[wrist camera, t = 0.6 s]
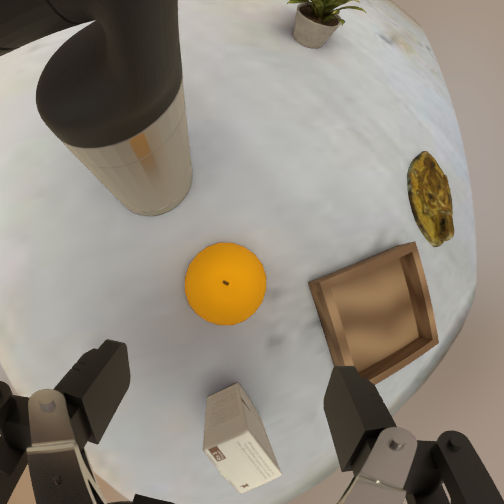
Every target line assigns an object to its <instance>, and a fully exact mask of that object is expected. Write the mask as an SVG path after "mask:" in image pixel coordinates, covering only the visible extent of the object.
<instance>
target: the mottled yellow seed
mask: <svg viewBox="0 0 504 504" xmlns="http://www.w3.org/2000/svg"><path fill="white" fill-rule="evenodd" d="M407 183H408V195H409V200H410V204H411V208H412V212H413V215H414V218H415V221H416V223H417V225H418V227H419V229H420V231H421V232H422V234H423V235H424V237H425V238H426V239H427V240H428V242H429V243H430V244H431V245H432V246H434V247H438V246H440V245H442V244H443V242H444V241H447V240H450V239H451V238H452V237H453V236H454V226H453V218H452V198H451V193H450V188H449V185H448V180H447V176H446V175H444V173H443V171H442V170H441V168H440V167H439V165H438V163H437V162H436V160H435V159H434V158H433V157H432V155H431V154H429V153H428V152H427V151H423V152H422V153H421V154H420V155H418V156H417V157H416V158H415V159H413V161H412V162H411V164H410V167H409V170H408V174H407Z"/></svg>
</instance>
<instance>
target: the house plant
mask: <svg viewBox="0 0 504 504" xmlns="http://www.w3.org/2000/svg"><path fill="white" fill-rule="evenodd" d="M310 1H312V2H309V0H290V1H289V2H288V3H300V4H299V5H298V7H297V12H296V19H295V26H294V33H293V36H294V38H295V40H296V41H297V42H298V43H300V44H301V45H303V46H306V47H309V48H319V47H321V46H322V45H323V44H324V43H325V42H326V40H327V39H328V38H329V37H330V36H331V35H332V34H333V32H334V31H335V30H336V29H337V28H338V27H339V26H340V24H341V23H342V25H343V24H344V23H345V21H344V20H343V19H341V18H340V16H339V15H338V14H339V12H340V11H339V10H341V9H346V8H351V9H358V10H362V11H364V10H363V9H362V8H359V7H355V6H346V7H342V8H339V9H336V10H333V9H334V8H336V7H338V6H340V5H342V4H345V3H347V2H349V1H352V0H310ZM355 1H357V2H359V1H358V0H355ZM288 3H287V4H288ZM359 3H360V2H359ZM364 12H365V11H364ZM365 13H366V12H365Z"/></svg>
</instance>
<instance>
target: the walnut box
mask: <svg viewBox="0 0 504 504" xmlns="http://www.w3.org/2000/svg"><path fill="white" fill-rule="evenodd" d="M308 284H309V287H310V290H311V293H312V296H313V299H314V302H315V306H316V309H317V312H318V315H319V318H320V321H321V324H322V327H323V331H324V334H325V337H326V340H327V344H328V347H329V350H330V354H331V357H332V360H333V364H334V367H335V366H355V368H356V369H357V371H358V373H359V375H360V377H361V378H367V379H368V380H369V381H370V382H371V383H373V384H374V385H375V384H377V383H379V382H380V381H382V380H384V379H386V378H387V377H389V376H390V375H392V374H394V373H395V372H397V371H399V370H400V369H402V368H403V367H405V366H406V365H408V364H409V363H411V362H412V361H414V360H415V359H417V358H418V357H420V356H421V355H423V354H424V353H426V352H427V351H428V350H430V349H431V348H433V347H434V346H435V345H437V344H438V343H439V341H438V335H437V329H436V324H435V318H434V313H433V308H432V304H431V299H430V295H429V291H428V286H427V282H426V278H425V274H424V271H423V267H422V263H421V260H420V256H419V253H418V249H417V246H416V243H415V242H411V243H406V244H402V245H398V246H396V247H393V248H391V249H389V250H386V251H384V252H382V253H379V254H377V255H375V256H372V257H370V258H368V259H365V260H363V261H360V262H358V263H356V264H353V265H351V266H348V267H346V268H343V269H341V270H338V271H336V272H334V273H331V274H329V275H326V276H323V277H321V278H318V279H316V280H313V281H311V282H308Z"/></svg>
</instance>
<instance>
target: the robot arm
mask: <svg viewBox="0 0 504 504" xmlns="http://www.w3.org/2000/svg"><path fill="white" fill-rule="evenodd" d="M94 20H96V21H94ZM90 21H94V22H93V23H91V24H90V25H88V26H86V27H85V28H83V29H82V30H80V31H79V32H77V33H76V34H75V35H73V36H72V37H71V38H70V39H68V40H67V41H66V42H65V43H64V44H63V45H62V46H61V47H60V48H59V49H58V50H57V51H56V52H55V53H54V55H53V56H52V57H51V58H50V60H49V61H48V63H47V64H46V66H45V68H44V70H43V72H42V74H41V76H40V78H39V82H38V85H37V90H36V104H37V108H38V112H39V114H40V116H41V118H42V119H43V121H44V122H45V124H46V125H47V126H48V127H49V128H50V130H51V131H52V132H53V133H54V134H55V135H56V136H57V137H58V138H59V139H60V140H61V141H62V142H63V143H64V144H65V145H66V146H67V147H68V149H69V150H70V151H71V152H72V153H73V154H74V155H75V156H76V157H77V158H78V159H79V160H80V161H81V162H82V163H83V164H84V165H85V166H86V167H87V168H88V169H89V170H90V171H91V172H92V173H93V175H94V176H95V177H96V178H97V179H98V180H99V181H100V182H101V183H102V184H103V185H104V186H105V187H106V188H107V189H108V190H109V191H110V192H111V193H112V194H113V195H114V196H115V197H116V198H117V199H118V200H119V201H120V202H121V203H122V204H123V205H124V206H125V207H127V208H128V209H129V210H130V211H132V212H134V213H137V214H140V215H145V216H155V215H160V214H163V213H166V212H168V211H170V210H172V209H173V208H174V207H176V206H177V205H178V204H179V203H180V202H181V201H182V200H183V199H184V198H185V196H186V194H187V193H188V191H189V188H190V186H191V182H192V166H191V156H190V147H189V138H188V129H187V119H186V108H185V99H184V88H183V76H182V63H181V53H180V43H179V29H178V0H0V56H2V55H4V54H6V53H9V52H11V51H13V50H15V49H17V48H20V47H21V46H24V45H26V44H28V43H30V42H33V41H35V40H37V39H40V38H42V37H45V36H47V35H50V34H53V33H56V32H58V31H61V30H64V29H67V28H70V27H73V26H76V25H80V24H83V23H86V22H90ZM129 384H130V368H129V361H128V353H127V346H126V344H125V343H122V342H118V341H113V340H109V339H107V340H105V342H104V343H103V344H102V345H101V346H100V347H99V349H92V350H90V351H88V352H86V353H85V354H83V355H82V357H81V358H80V359H79V360H78V361H77V363H75V365H74V366H73V367H72V369H70V370H69V372H68V373H67V374H66V375H65V376H64V377H63V379H62V380H61V381H60V382H59V383H58V384H57V386H56V387H55V388H54V389H53V390H52V389H43V390H39V391H37V392H35V393H34V394H33V395H32V396H31V397H30V398H28V397H22V396H15V395H13V394H12V391H11V389H10V387H9V385H7V384H6V383H5V382H2V381H0V435H1V436H0V504H7V502H8V500H9V498H10V496H11V494H12V492H13V490H14V488H15V486H16V484H17V483H18V481H19V479H20V477H21V475H22V473H23V471H24V470H25V468H26V466H27V464H28V465H29V471H30V477H31V482H32V487H33V491H34V496H35V500H36V503H37V504H174V503H172V502H167V501H163V500H158V499H154V498H150V497H146V496H142V495H138V494H135V496H134V499H133V502H132V501H120V502H112V503H107V502H106V500H105V498H104V496H103V494H102V492H101V490H100V488H99V486H98V483H97V481H96V478H95V475H94V473H93V470H92V467H91V464H90V462H89V459H88V456H87V453H86V450H85V448H84V447H85V445H86V443H87V441H89V442H92V443H95V444H99V442H100V440H101V438H102V436H103V434H104V432H105V430H106V428H107V427H108V425H109V423H110V421H111V419H112V417H113V415H114V413H115V412H116V410H117V408H118V406H119V404H120V402H121V400H122V399H123V397H124V395H125V393H126V391H127V390H128V387H129ZM324 411H325V414H326V418H327V421H328V425H329V428H330V432H331V435H332V439H333V442H334V446H335V449H336V453H337V456H338V460H339V464H340V467H341V471H342V472H346V471H353V473H354V477H353V478H352V480H351V482H350V483H349V485H348V486H347V488H346V490H345V491H344V493H343V494H342V496H341V497H340V499H339V501H338V502H337V504H403V501H404V499H405V497H406V500H407V503H408V504H450V503H449V500H448V498H447V496H446V493H445V491H444V489H443V486H442V484H443V483H444V484H445V486H446V488H447V490H448V493H449V495H450V498H451V504H504V501H503V499H502V497H501V495H500V493H499V491H498V489H497V488H496V486H495V484H494V482H493V480H492V478H491V477H490V475H489V473H488V471H487V470H486V468H485V466H484V464H483V463H482V461H481V459H480V458H479V456H478V454H477V453H476V451H475V449H474V448H473V446H472V444H471V443H470V441H469V440H468V438H467V437H466V436H465V435H464V434H462V433H460V432H457V431H446V432H444V433H442V434H441V435H440V436H439V438H438V439H437V441H419V440H416V438H415V436H414V435H413V434H412V433H411V432H410V431H408V430H406V429H404V428H400V427H397V426H396V424H395V422H394V420H393V418H392V416H391V415H390V413H389V411H388V409H387V407H386V405H385V403H383V400H382V398H381V396H379V392H378V391H377V389H376V387H375V385H374V384H373V383H371V382H370V381H369V380H368V379H367V378H361V377H360V375H359V373H358V371H357V369H356V368H355V366H335V367H334V368H333V371H332V374H331V377H330V380H329V383H328V387H327V390H326V393H325V396H324Z"/></svg>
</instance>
